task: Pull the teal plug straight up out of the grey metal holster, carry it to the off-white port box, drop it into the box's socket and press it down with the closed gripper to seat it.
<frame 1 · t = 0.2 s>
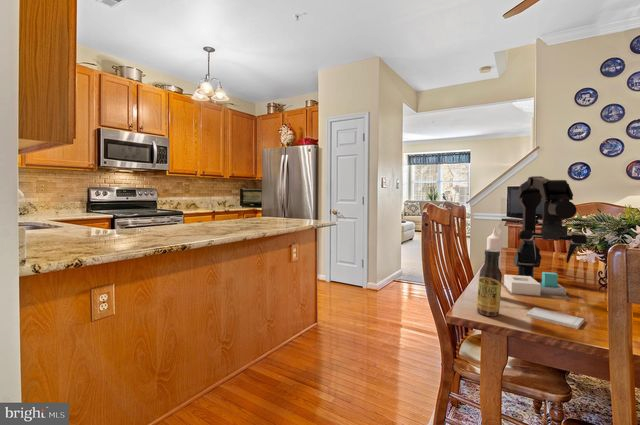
hand: (550, 261, 112), 14 cm above the table, tool pointing down, fingers open, 9 cm apart
plug: (549, 282, 118), in the holster, point 4 cm above the table, touching board
sauce bottle: (488, 314, 99), on the table
holster: (549, 288, 118), on the board, point 2 cm above the table
port box: (521, 289, 121), resting on board
hard drive: (554, 321, 96), on the table
board: (534, 293, 120), on the table
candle: (492, 299, 113), on the table
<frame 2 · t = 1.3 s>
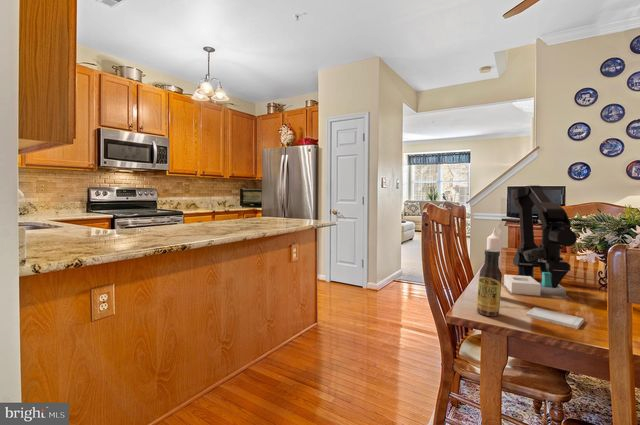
hand: (549, 284, 118), 4 cm above the table, tool pointing down, fingers open, 9 cm apart
nothing on the table moved.
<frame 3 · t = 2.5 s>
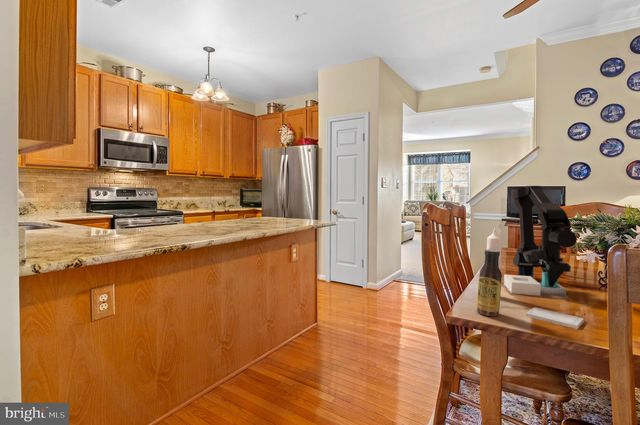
hand: (549, 285, 118), 4 cm above the table, tool pointing down, fingers closed on plug, 3 cm apart
plug: (549, 282, 118), in the holster, point 4 cm above the table, touching board, gripper
everything else where it was.
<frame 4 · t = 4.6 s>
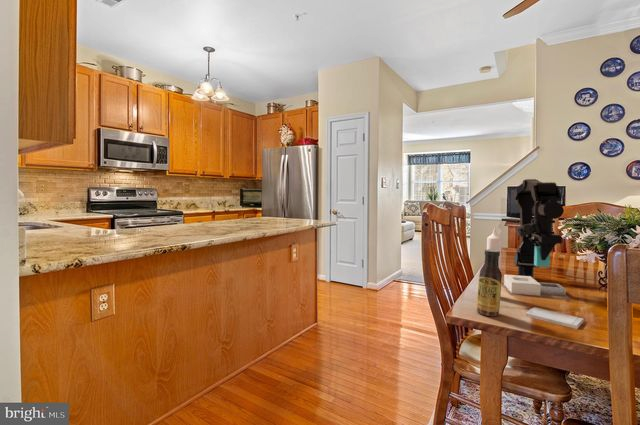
hand: (541, 259, 118), 13 cm above the table, tool pointing down, fingers closed on plug, 3 cm apart
plug: (541, 256, 118), point 14 cm above the table, touching gripper
everything else where it was.
when the fingers open (5 cm above the table, at t = 6.6 s): plug drops 2 cm, resting on board.
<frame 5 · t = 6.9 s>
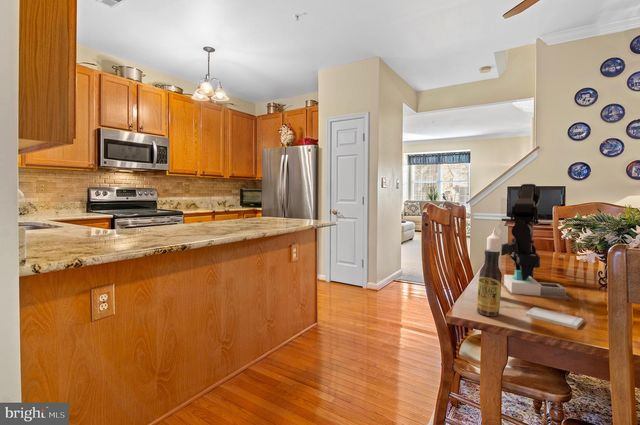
hand: (521, 277, 121), 5 cm above the table, tool pointing down, fingers open, 6 cm apart
plug: (521, 280, 121), in the port box, point 4 cm above the table, touching board
everything else where it was.
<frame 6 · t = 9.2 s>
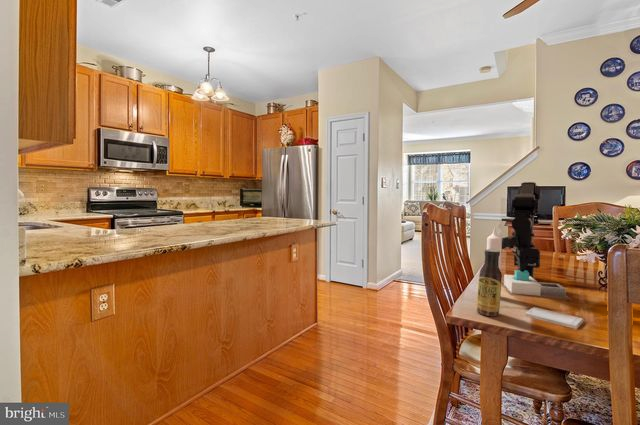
hand: (521, 271, 120), 8 cm above the table, tool pointing down, fingers closed, pressing on plug
plug: (521, 280, 121), in the port box, point 4 cm above the table, touching board, gripper
everything else where it was.
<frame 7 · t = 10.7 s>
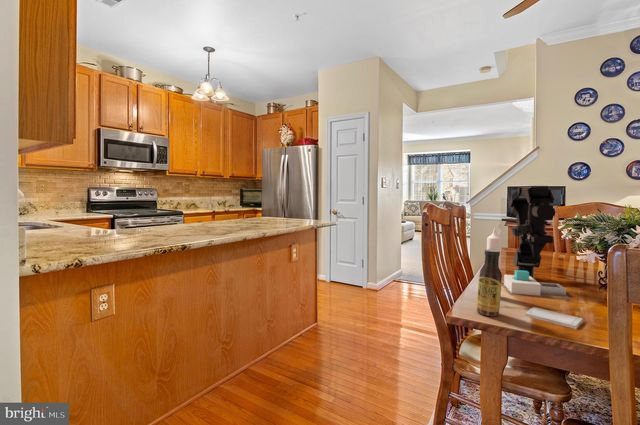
hand: (535, 257, 126), 12 cm above the table, tool pointing down, fingers closed
plug: (521, 280, 121), in the port box, point 4 cm above the table, touching board
everything else where it was.
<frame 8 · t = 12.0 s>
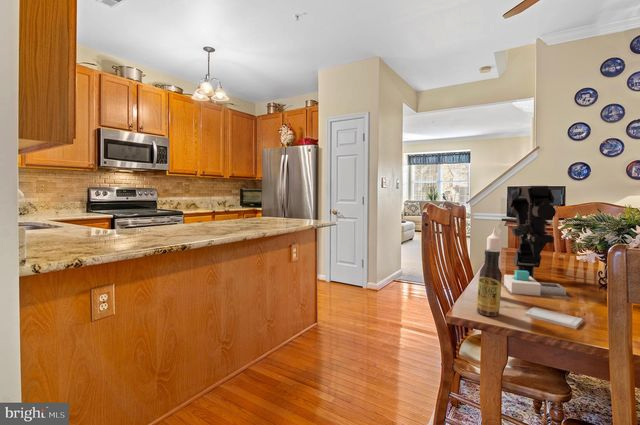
hand: (535, 257, 126), 12 cm above the table, tool pointing down, fingers closed
nothing on the table moved.
at the end: plug 0.1 cm off-centre on the port box, point 3.5 cm above the port box's base; plug tilted 0°; the gripper is holding nothing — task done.
